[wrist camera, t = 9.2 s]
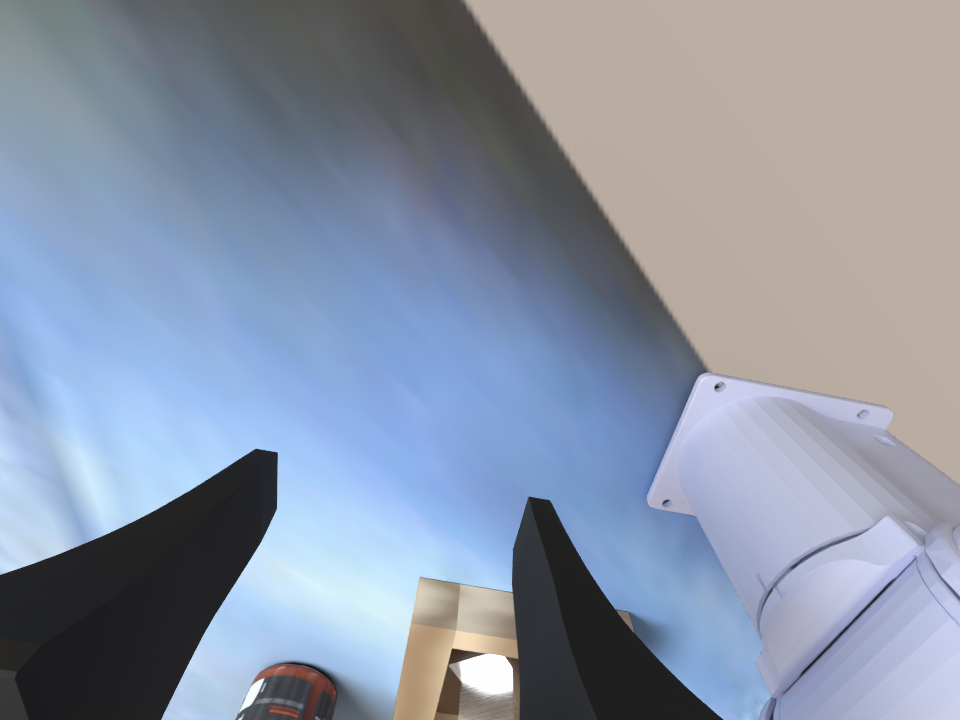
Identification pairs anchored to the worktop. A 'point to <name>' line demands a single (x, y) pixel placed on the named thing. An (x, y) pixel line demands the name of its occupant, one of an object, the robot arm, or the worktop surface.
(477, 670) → the stepped metal bar
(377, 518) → the worktop surface
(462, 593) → the well block
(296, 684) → the supplement bottle
